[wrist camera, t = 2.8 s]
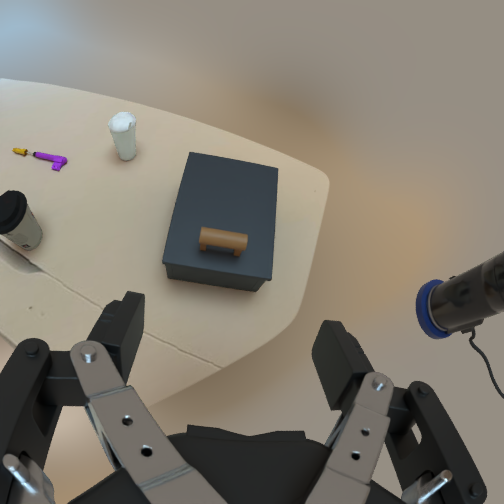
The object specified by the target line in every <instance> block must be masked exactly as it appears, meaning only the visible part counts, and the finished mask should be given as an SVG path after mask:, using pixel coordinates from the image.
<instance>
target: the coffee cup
mask: <svg viewBox="0 0 504 504" xmlns="http://www.w3.org/2000/svg"><path fill="white" fill-rule="evenodd" d="M0 234H1V235H3V236H4V237H6V238H7V239H9V240H11V241H12V242H14V243H15V244H17V245H18V246H20V247H22V248H23V249H25V250H33V249H35V248H36V247H37V246H38V245H39V243H40V242H41V239H42V230H41V228H40V226H39V225H38V223H37V221H36V219H35V217H34V215H33V214H32V212H31V210H30V208H29V206H28V204H27V199H26V197H25V195H24V194H23V193H21V192H19V191H14V190H13V191H9V190H8V191H7V192H5V193H4V194H3V195H1V196H0Z"/></svg>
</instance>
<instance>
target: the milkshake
mask: <svg viewBox="0 0 504 504" xmlns="http://www.w3.org/2000/svg"><path fill="white" fill-rule="evenodd" d="M108 127H109V129H110V132H111V135H112V137H113V140H114V143H115V147H116V149H117V152H118V155H119V157H120V159H121V160H124V161H128V160H131V159H133V158H134V157H135V156H136V118H135V116H134V115H133V114H131V113H129V112H120V113H118V114H116V115H114V116H113V117H112V118H111V120H110V121H109V123H108Z"/></svg>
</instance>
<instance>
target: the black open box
mask: <svg viewBox="0 0 504 504" xmlns="http://www.w3.org/2000/svg"><path fill="white" fill-rule="evenodd" d="M165 266H166V271H167V276H168V278H170V279H176V280H182V281H188V282H194V283H200V284H207V285H213V286H219V287H226V288H233V289H239V290H246V291H253V292H256V291H257V290H258V289H259V288H260V287H261V285H262V284H263V283H264V282H265V281H266V280H259V279H253V278H246V277H239V276H233V275H227V274H220V273H214V272H208V271H202V270H196V269H189V268H183V267H178V266H172V265H166V264H165Z"/></svg>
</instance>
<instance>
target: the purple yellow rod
mask: <svg viewBox="0 0 504 504" xmlns="http://www.w3.org/2000/svg"><path fill="white" fill-rule="evenodd" d="M12 151H13V152H15V153H20V154H23V155H26V154H27V153H29V154H33V156H36V157H39V158H43V159H48V160H53V161H54V164H53V166H52V169H54V170H58V171H59V170H60V168H61V166H62V165H64V163H66V162H67V158H65V157H62V156H57V155H56V156H55V155H50V154H45V153H40V152H34V153H30V152H28V150H27V149H19V148H13V150H12Z"/></svg>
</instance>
